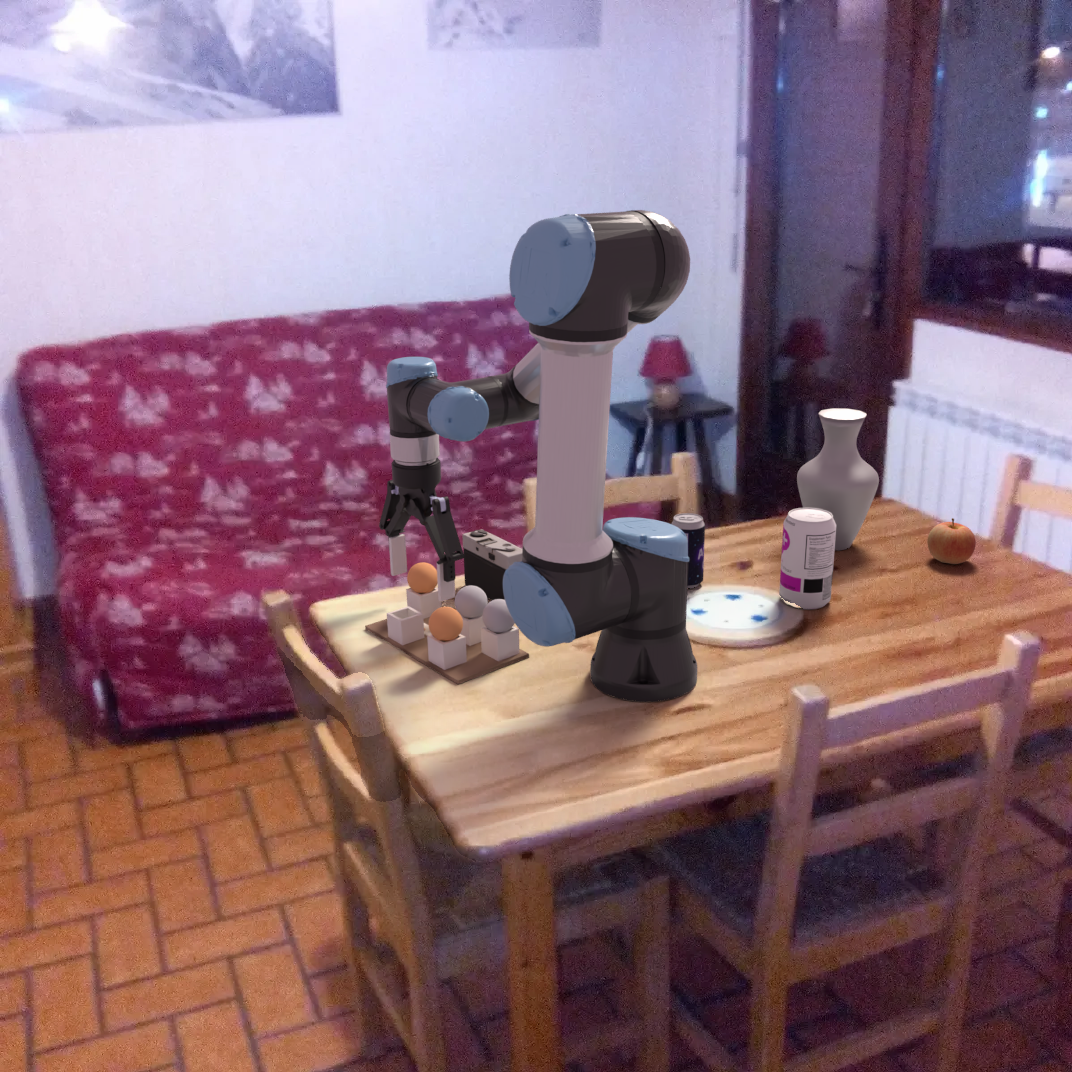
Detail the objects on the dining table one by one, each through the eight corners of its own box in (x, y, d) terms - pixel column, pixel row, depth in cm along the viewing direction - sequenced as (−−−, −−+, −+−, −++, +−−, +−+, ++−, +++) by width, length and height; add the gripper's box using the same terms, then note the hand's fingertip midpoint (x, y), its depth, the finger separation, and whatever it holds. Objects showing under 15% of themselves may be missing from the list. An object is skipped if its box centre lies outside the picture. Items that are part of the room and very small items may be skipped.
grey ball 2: (523, 632, 166) (522, 600, 164) (496, 641, 163) (495, 610, 161) (502, 621, 169) (501, 590, 168) (476, 630, 166) (474, 599, 165)
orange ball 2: (470, 640, 163) (469, 608, 162) (442, 650, 160) (440, 618, 159) (450, 629, 167) (449, 598, 165) (422, 638, 164) (420, 607, 162)
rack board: (529, 657, 167) (528, 651, 167) (457, 684, 159) (457, 678, 159) (433, 607, 185) (433, 602, 185) (365, 629, 178) (365, 624, 177)
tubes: (519, 653, 167) (518, 628, 166) (456, 677, 160) (455, 651, 159) (428, 605, 184) (426, 582, 183) (367, 624, 178) (366, 601, 176)
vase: (887, 543, 209) (899, 411, 201) (848, 564, 199) (859, 427, 191) (818, 526, 219) (827, 400, 210) (778, 546, 209) (785, 414, 200)
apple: (921, 552, 204) (925, 511, 201) (967, 554, 203) (972, 512, 200) (929, 569, 197) (934, 526, 194) (977, 570, 196) (982, 527, 193)
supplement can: (774, 607, 183) (780, 519, 177) (784, 588, 190) (789, 504, 185) (825, 613, 180) (832, 525, 175) (833, 594, 187) (840, 509, 182)
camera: (548, 599, 187) (547, 543, 184) (507, 612, 183) (506, 554, 180) (502, 575, 198) (500, 521, 195) (462, 586, 194) (460, 531, 190)
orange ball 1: (445, 592, 180) (443, 563, 179) (419, 601, 177) (417, 571, 176) (427, 584, 184) (426, 555, 182) (402, 592, 181) (400, 563, 179)
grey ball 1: (494, 617, 171) (493, 587, 169) (468, 626, 168) (466, 595, 166) (475, 607, 174) (473, 577, 173) (448, 616, 172) (447, 586, 170)
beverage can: (701, 591, 189) (704, 524, 185) (668, 589, 190) (669, 522, 186) (704, 578, 195) (706, 513, 190) (671, 576, 196) (672, 511, 192)
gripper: (484, 472, 166) (487, 603, 174) (392, 437, 184) (399, 558, 192) (442, 482, 162) (448, 616, 169) (352, 446, 180) (361, 569, 187)
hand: (422, 585), depth 181 cm, fingers open, 13 cm apart
